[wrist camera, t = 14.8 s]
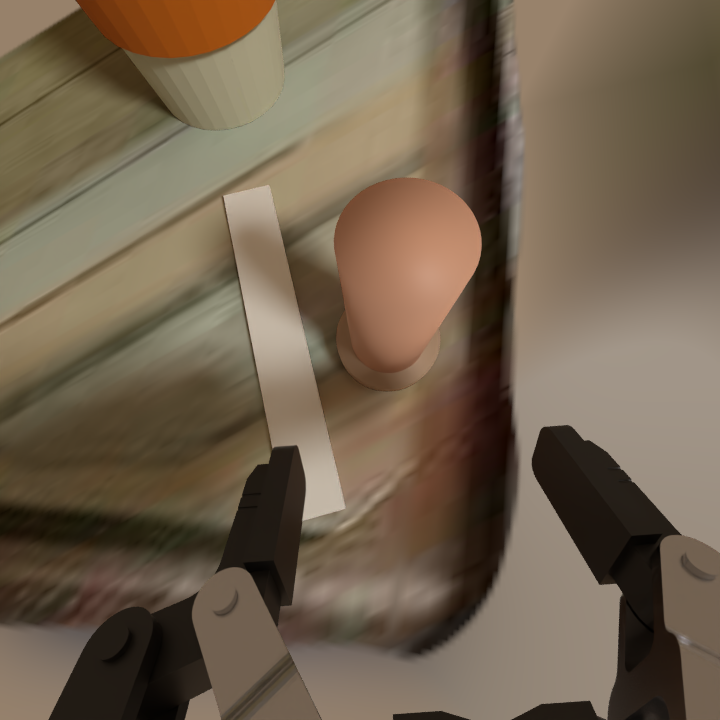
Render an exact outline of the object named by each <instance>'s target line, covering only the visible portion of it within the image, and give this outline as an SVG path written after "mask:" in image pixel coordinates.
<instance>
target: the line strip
mask: <svg viewBox="0 0 720 720" xmlns="http://www.w3.org/2000/svg"><path fill="white" fill-rule="evenodd" d="M223 197H224V202H225V207H226V212H227V217H228V222H229V228H230V233H231V238H232V243H233V248H234V253H235V258H236V264H237V269H238V274H239V279H240V284H241V289H242V294H243V300H244V305H245V310H246V315H247V320H248V325H249V330H250V336H251V341H252V346H253V351H254V356H255V361H256V366H257V372H258V377H259V382H260V387H261V392H262V397H263V402H264V408H265V413H266V418H267V423H268V428H269V433H270V438H271V444H272V449H273V448H274V447H278V446H291V445H297V446H298V448H299V452H300V456H301V460H302V464H303V469H304V473H305V478H306V495H305V503H304V511H303V519H302V521H303V520H307V519H311V518H314V517H318V516H321V515H325V514H328V513H332V512H335V511H339V510H343V509H346V506H345V502H344V498H343V493H342V489H341V485H340V481H339V476H338V472H337V468H336V464H335V459H334V455H333V451H332V447H331V443H330V438H329V434H328V430H327V426H326V421H325V417H324V413H323V409H322V405H321V400H320V396H319V392H318V388H317V383H316V379H315V375H314V371H313V366H312V362H311V358H310V354H309V350H308V345H307V341H306V337H305V333H304V328H303V324H302V320H301V316H300V311H299V307H298V303H297V299H296V295H295V290H294V286H293V282H292V278H291V273H290V269H289V265H288V261H287V257H286V252H285V248H284V244H283V240H282V235H281V231H280V227H279V223H278V218H277V214H276V210H275V206H274V202H273V197H272V193H271V189H270V186H269V185H266V186H262V187H258V188H254V189H249V190H245V191H241V192H237V193H233V194H229V195H224V196H223Z"/></svg>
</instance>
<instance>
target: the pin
mask: <svg viewBox="0 0 720 720" xmlns="http://www.w3.org/2000/svg"><path fill="white" fill-rule="evenodd" d="M334 249H335V255H336V261H337V266H338V272H339V277H340V283H341V288H342V294H343V299H344V305H345V311H344V312H343V314H342V316H341V318H340V320H339V323H338V327H337V332H336V344H337V349H338V352H339V355H340V358H341V361H342V363H343V365H344V367H345V369H346V370H347V372H348V373H349V374H350V375H351V376H352V377H353V378H354V379H355V380H356V381H357V382H359V383H360V384H362V385H364V386H366V387H368V388H371V389H374V390H378V391H397V390H401V389H404V388H407V387H409V386H411V385H413V384H415V383H416V382H417V381H419V380H420V379H421V378H422V377H423V376H424V375H425V374H426V373H427V372H428V371H429V369H430V368H431V367H432V365H433V364H434V362H435V360H436V358H437V356H438V352H439V348H440V329H439V326H440V325H441V323H442V321H443V320H444V318H445V317H446V315H447V314H448V312H449V311H450V309H451V308H452V306H453V304H454V303H455V301H456V300H457V298H458V297H459V295H460V294H461V292H462V291H463V289H464V287H465V286H466V284H467V283H468V281H469V280H470V278H471V277H472V275H473V274H474V272H475V270H476V267H477V265H478V262H479V259H480V255H481V234H480V229H479V226H478V223H477V220H476V218H475V216H474V214H473V213H472V211H471V210H470V208H469V207H468V206H467V205H466V203H465V202H464V201H463V200H462V199H461V198H460V197H459V196H457V195H456V194H455V193H453V192H452V191H450V190H449V189H447V188H445V187H443V186H442V185H439V184H437V183H434V182H431V181H428V180H424V179H417V178H395V179H390V180H385V181H382V182H379V183H376V184H374V185H372V186H370V187H368V188H366V189H365V190H363V191H361V192H360V193H359V194H358V195H356V196H355V197H354V198H353V199H352V200H351V201H350V202H349V203H348V205H347V206H346V207H345V208H344V210H343V212H342V214H341V215H340V217H339V220H338V222H337V225H336V229H335V235H334Z"/></svg>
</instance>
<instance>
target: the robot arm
mask: <svg viewBox="0 0 720 720" xmlns="http://www.w3.org/2000/svg"><path fill="white" fill-rule="evenodd" d="M532 469H533V472H534V475H535V477H536V479H537V481H538V482H539V484H540V486H541V488H542V489H543V491H544V493H545V494H546V496H547V498H548V499H549V501H550V502H551V504H552V506H553V508H554V509H555V511H556V513H557V514H558V516H559V518H560V519H561V521H562V523H563V524H564V526H565V528H566V529H567V531H568V533H569V534H570V536H571V538H572V539H573V541H574V543H575V544H576V546H577V548H578V549H579V551H580V553H581V555H582V556H583V558H584V560H585V561H586V563H587V565H588V566H589V568H590V569H591V571H592V573H593V575H594V576H595V578H596V580H597V581H598V583H599V584H600V585H602V584H603V585H604V584H617V585H618V586H619V588H620V590H621V591H622V595H621V597H620V609H619V636H618V637H619V639H618V665H617V676H616V681H615V684H614V687H613V689H612V692H611V696H610V701H609V707H608V720H720V553H719V552H717V551H716V550H714V549H713V548H711V547H710V546H708V545H706V544H704V543H703V542H700V541H698V540H696V539H693V538H690V537H686V536H682V535H681V534H680V533H679V532H678V531H677V530H676V529H675V528H674V526H673V525H672V524H671V523H670V522H669V521H668V520H667V519H666V518H665V516H664V515H663V514H662V513H661V512H660V511H659V510H658V509H657V508H656V506H655V505H654V504H653V503H652V502H651V501H650V500H649V499H648V497H647V496H646V495H645V494H644V493H643V492H642V491H641V490H640V488H639V487H638V486H637V485H636V484H635V483H634V482H633V483H632V481H631V478H630V477H628V475H627V474H626V473H625V472H624V471H623V470H621V469H620V466H619V465H618V464H617V463H616V462H615V461H614V459H613V458H611V456H610V455H609V454H608V453H607V452H606V451H604V450H603V449H601V448H600V447H598V446H597V445H595V444H594V443H593V442H591V441H589V440H588V441H584V440H583V439H582V438H581V437H580V435H579V434H578V433H577V432H576V431H575V430H574V429H573V428H572V427H571V426H569V425H564V426H550V427H543V428H542V429H541V431H540V434H539V437H538V440H537V444H536V447H535V450H534V454H533V457H532ZM305 495H306V478H305V473H304V469H303V464H302V460H301V456H300V452H299V448H298V446H297V445H291V446H278V447H274V448H273V450H272V453H271V457H270V461H269V464H261V465H257V467H256V468H255V469H254V470H253V472H252V473H251V474H250V476H249V477H248V478H247V481H246V484H245V487H244V490H243V494H242V498H241V500H240V503H239V506H238V511H237V512H236V516H235V519H234V522H233V525H232V528H231V531H230V534H229V538H228V541H227V544H226V547H225V550H224V553H223V557H222V560H221V563H220V565H219V567H218V569H217V571H216V573H215V574H214V575H213V576H212V577H211V578H210V579H209V580H208V581H207V582H206V583H205V584H204V585H203V587H202V588H201V589H200V591H199V592H197V593H196V594H194V595H193V596H191V597H189V598H187V599H185V600H183V601H180V602H178V603H176V604H173V605H171V606H169V607H166V608H164V609H162V610H159V611H157V612H155V613H152V614H150V612H149V611H147V610H146V609H144V608H142V607H131V608H127V609H124V610H122V611H120V612H118V613H116V614H115V615H113V616H112V617H110V618H109V619H108V620H107V621H105V622H104V623H103V624H102V625H101V626H100V627H99V628H98V629H97V630H96V632H95V633H94V634H93V635H92V636H91V638H90V639H89V641H88V642H87V644H86V646H85V648H84V649H83V651H82V653H81V655H80V658H79V659H78V661H77V663H76V665H75V667H74V669H73V671H72V673H71V675H70V677H69V679H68V681H67V683H66V686H65V687H64V689H63V691H62V694H61V696H60V697H59V699H58V701H57V704H56V706H55V708H54V710H53V712H52V714H51V716H50V718H49V720H185V716H186V712H187V709H188V705H189V701H190V699H192V698H194V697H196V696H198V695H200V694H201V693H204V692H205V691H207V690H209V689H211V688H213V692H214V695H215V698H216V702H217V705H218V708H219V712H220V716H221V720H322V719H321V717H320V715H319V713H318V711H317V709H316V707H315V705H314V703H313V701H312V699H311V696H310V694H309V693H308V690H307V688H306V686H305V684H304V682H303V680H302V678H301V676H300V674H299V672H298V670H297V668H296V666H295V664H294V661H293V659H292V657H291V655H290V653H289V651H288V649H287V647H286V645H285V643H284V641H283V639H282V637H281V635H280V633H279V631H278V628H277V626H278V619H279V612H280V606H289V605H292V599H293V591H294V583H295V575H296V567H297V559H298V551H299V543H300V535H301V527H302V519H303V511H304V503H305ZM393 720H469V719H466V718H462V717H459V716H456V715H452V714H449V713H446V712H443V711H435V712H421V713H407V714H393ZM512 720H606V719H603V718H601V717H599V716H597V715H596V713H595V711H594V709H593V707H592V704H591V702H590V701H581V702H566V703H553V704H541V705H539V706H537V707H535V708H533V709H531V710H530V711H528V712H526V713H524V714H522V715H520V716H518V717H516V718H514V719H512Z"/></svg>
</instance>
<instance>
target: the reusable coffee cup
mask: <svg viewBox="0 0 720 720" xmlns="http://www.w3.org/2000/svg"><path fill="white" fill-rule="evenodd" d="M76 1H77V3H78V4H79V5H80V7H81V8H82V9H83V10H84V12H85V13H86V14H87V15H88V17H89V18H90V19H91V21H92V22H93V23H94V24H95V26H96V27H97V28H98V29H99V30H100V32H101V33H102V34H103V35H104V36H105V37H106V38H107V39H108V40H110V41H111V42H113V43H114V44H115V45H117V46H118V47H121V48H122V49H123V50H124V51H125V53H126V54H127V55H128V57H129V58H130V59H131V61H132V62H133V63H134V64H135V66H136V67H137V68H138V70H139V71H140V72H141V74H142V75H143V76H144V78H145V79H146V80H147V82H148V83H149V84H150V85H151V87H152V88H153V89H154V91H155V92H156V93H157V95H158V96H159V97H160V99H161V100H162V101H163V102H164V104H165V105H166V106H167V108H168V109H169V110H170V111H171V112H172V114H173V115H174V116H175V117H177V118H178V119H179V120H181V121H182V122H184V123H186V124H188V125H190V126H192V127H196V128H200V129H204V130H226V129H232V128H236V127H240V126H243V125H245V124H247V123H250V122H252V121H254V120H256V119H257V118H259V117H260V116H262V115H263V114H265V113H266V112H267V111H268V110H269V109H270V108H271V107H272V106H273V105H274V103H275V102H276V101H277V99H278V98H279V96H280V94H281V92H282V90H283V85H284V81H285V74H284V63H283V54H282V45H281V37H280V28H279V19H278V11H277V2H276V0H76Z"/></svg>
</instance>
